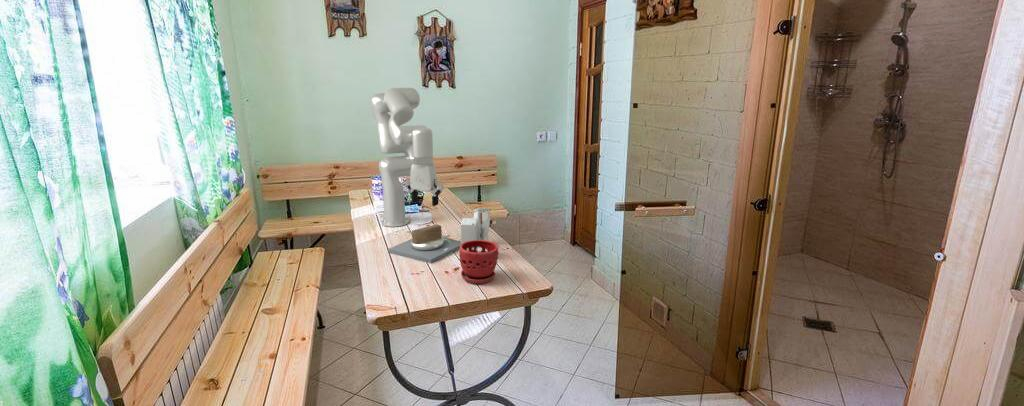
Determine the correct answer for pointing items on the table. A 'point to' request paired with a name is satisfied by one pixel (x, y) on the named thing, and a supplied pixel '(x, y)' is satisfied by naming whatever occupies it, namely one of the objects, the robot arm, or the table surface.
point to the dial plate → (429, 255)
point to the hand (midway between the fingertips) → (425, 203)
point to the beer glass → (482, 222)
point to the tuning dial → (428, 238)
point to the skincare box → (469, 230)
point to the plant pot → (478, 261)
